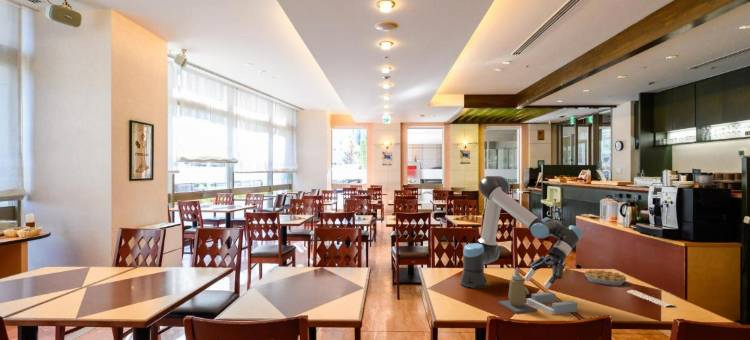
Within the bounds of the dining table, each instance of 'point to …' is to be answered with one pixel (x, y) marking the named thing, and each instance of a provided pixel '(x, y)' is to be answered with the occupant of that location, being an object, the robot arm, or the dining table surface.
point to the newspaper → (649, 298)
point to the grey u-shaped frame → (556, 307)
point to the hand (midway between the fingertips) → (535, 283)
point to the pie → (605, 277)
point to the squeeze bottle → (517, 290)
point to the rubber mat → (516, 309)
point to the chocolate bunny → (525, 288)
